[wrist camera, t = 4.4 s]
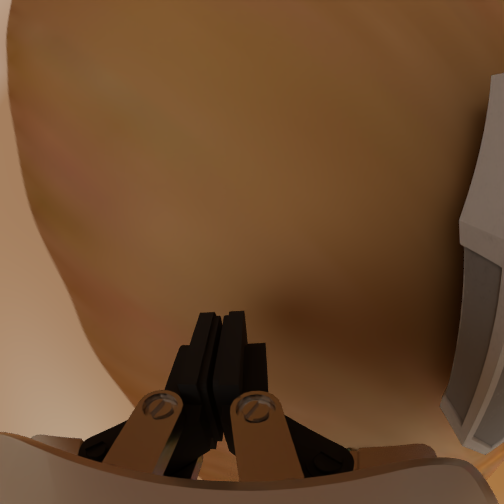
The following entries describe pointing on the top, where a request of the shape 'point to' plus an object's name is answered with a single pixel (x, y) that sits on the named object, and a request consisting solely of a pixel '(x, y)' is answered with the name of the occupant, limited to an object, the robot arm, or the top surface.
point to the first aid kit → (482, 296)
